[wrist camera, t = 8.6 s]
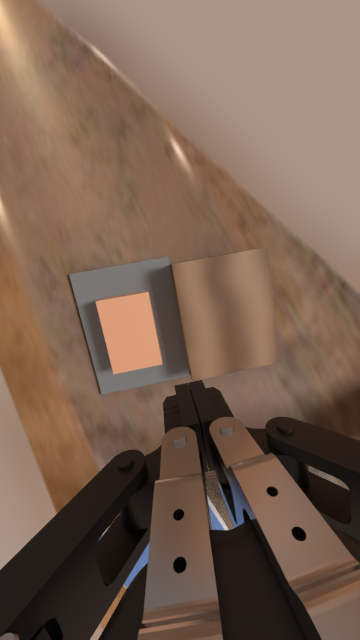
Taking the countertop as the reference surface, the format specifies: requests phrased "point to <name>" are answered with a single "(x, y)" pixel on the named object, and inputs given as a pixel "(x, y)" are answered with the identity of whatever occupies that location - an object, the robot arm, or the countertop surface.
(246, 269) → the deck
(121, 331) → the orange rectangular block
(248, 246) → the countertop surface
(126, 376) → the mat
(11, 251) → the countertop surface
